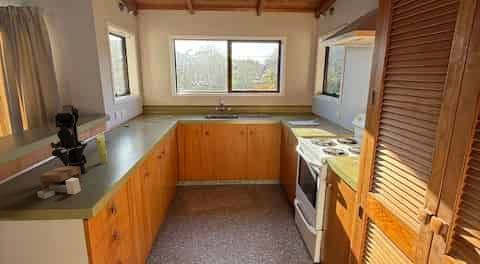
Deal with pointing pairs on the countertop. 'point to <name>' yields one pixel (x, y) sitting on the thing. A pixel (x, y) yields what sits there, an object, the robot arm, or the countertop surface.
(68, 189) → the cube on a stick
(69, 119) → the robot arm
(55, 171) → the brown wooden slab
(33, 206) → the countertop surface
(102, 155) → the tube
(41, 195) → the token
